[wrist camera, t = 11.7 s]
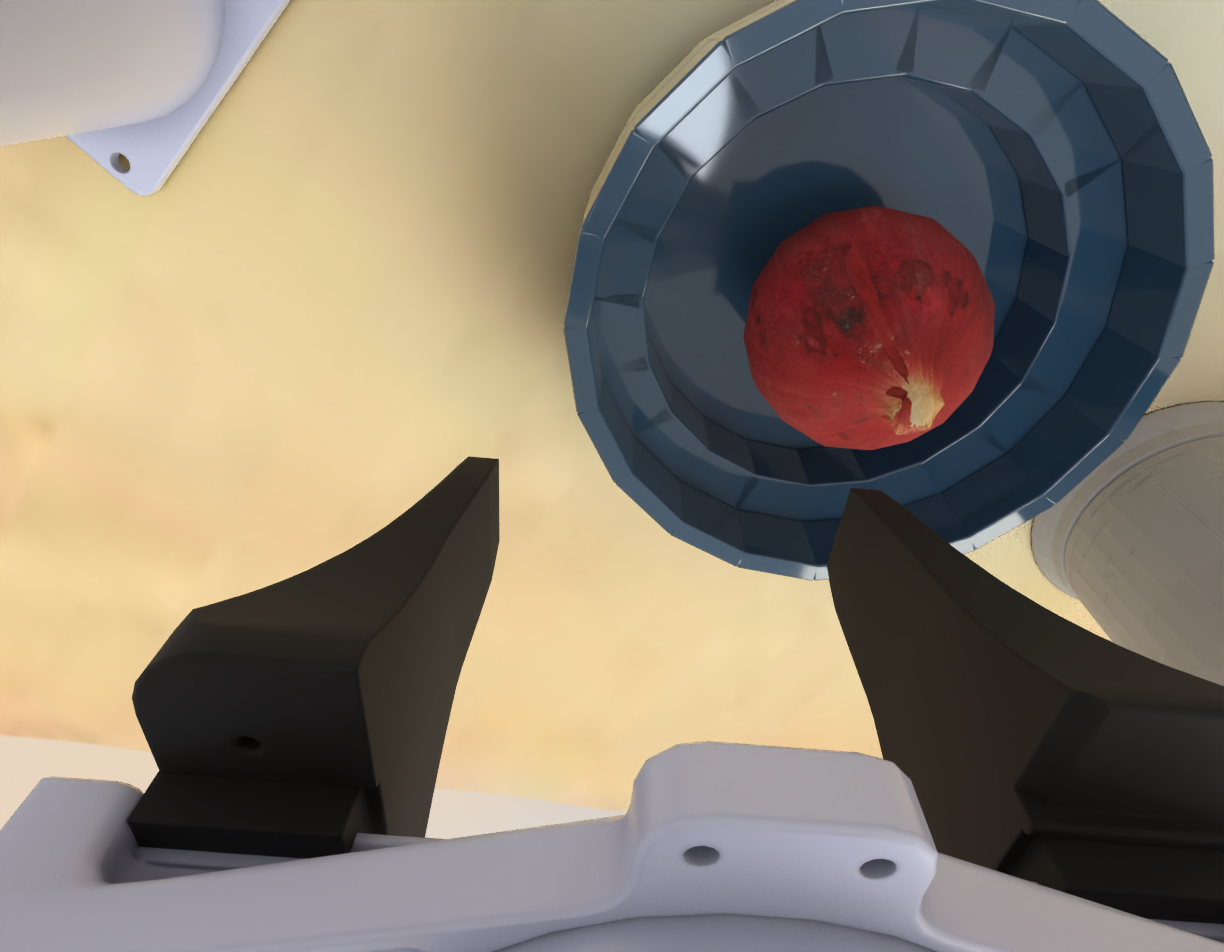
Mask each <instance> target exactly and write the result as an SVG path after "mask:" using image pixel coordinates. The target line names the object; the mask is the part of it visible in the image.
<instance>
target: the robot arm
mask: <svg viewBox="0 0 1224 952" xmlns="http://www.w3.org/2000/svg"><path fill="white" fill-rule="evenodd" d="M290 1H291V0H0V147H2V146H8V145H14V144H20V143H26V142H32V141H37V140H43V139H49V138H55V137H61V136H66V137H67V138H68V139H70V140H71V141H72V142H73V143H74V144H76V145H77V146H78V147H79V148H80V149H82V150H83V151H84V152H85V153H86V154H87V155H89V156H90V157H91V158H92V159H93V160H95V161H96V162H97V163H98V164H99V165H100V166H102V167H103V168H104V169H105V170H106V171H108V172H109V173H110V174H111V175H112V176H114V177H115V178H116V179H117V180H118V181H119V182H121V183H122V184H123V185H124V186H125V187H127V188H128V189H129V190H130V191H132V192H134V193H135V194H138V195H142V196H146V195H151V194H154V193H156V192H158V191H159V190H160V189H161V187H162V186H163V185H164V183H165V182H166V180H167V179H168V177H169V176H170V174H171V173H172V172H173V170H174V169H175V167H176V166H177V164H178V163H179V161H180V160H181V159H182V157H183V156H184V154H185V153H186V151H187V150H188V148H189V147H190V145H191V144H192V143H193V141H194V140H195V138H196V137H197V135H198V134H199V132H200V131H201V130H202V128H203V127H204V125H205V124H206V122H207V121H208V119H209V118H210V116H211V115H212V114H213V112H214V111H215V109H216V108H217V106H218V105H219V103H220V102H221V101H222V99H223V98H224V96H225V95H226V93H227V92H228V90H229V89H230V87H231V86H232V85H233V83H234V82H235V80H236V79H237V77H238V76H239V74H240V73H241V72H242V70H243V69H244V67H245V66H246V64H247V63H248V61H249V60H250V58H251V57H252V56H253V54H254V53H255V51H256V50H257V48H258V47H259V45H260V44H261V43H262V41H263V40H264V38H265V37H266V35H267V34H268V32H269V31H270V29H271V28H272V27H273V25H274V24H275V22H276V21H277V19H278V18H279V16H280V15H281V14H282V12H283V11H284V9H285V8H286V6H287V5H288V3H289V2H290ZM120 153H121V154H122V155H124V156H125V157H126V158H127V159H128V161H129V164H130V169H129V170H127V169H126V168H124V167H123V166H122V164H121V163H120V160H119V154H120ZM498 545H499V459H491V458H479V457H468V458H467V459H465V460H464V461H463V462H462V463H461V464H460V465H458V466H457V467H456V468H455V469H454V470H453V471H452V472H451V473H450V474H449V475H448V476H447V477H445V478H444V479H443V480H442V481H441V482H440V483H439V484H438V485H437V486H436V487H434V488H433V489H432V490H431V491H430V492H429V493H427V494H426V495H425V496H424V497H423V498H422V499H420V500H419V501H418V502H417V503H416V504H415V505H413V506H412V507H411V508H410V509H408V510H407V511H406V512H405V513H403V514H402V515H401V516H399V517H398V518H397V519H395V520H394V521H393V522H391V523H390V524H389V525H387V526H386V527H384V528H383V529H381V530H380V531H378V532H377V533H375V534H374V535H372V536H371V537H369V538H367V539H366V540H364V541H362V542H361V543H359V544H357V545H356V546H354V547H352V548H351V549H349V550H347V551H345V552H343V553H341V554H339V555H337V556H335V557H333V558H331V559H329V560H327V561H325V562H323V563H321V564H319V565H317V566H315V567H313V568H311V569H309V570H307V571H305V572H302V573H300V574H298V575H295V576H293V577H290V578H288V579H286V580H283V581H281V582H278V583H275V584H273V585H270V586H267V587H265V588H262V589H259V590H256V591H253V592H250V593H247V594H244V595H241V596H238V597H234V598H231V599H228V600H224V601H221V602H217V603H214V604H211V605H207V606H204V607H200V608H196V609H193V610H192V611H191V612H190V613H189V614H188V616H187V617H186V618H185V619H184V620H183V621H182V622H181V624H180V625H179V626H178V627H177V628H176V629H175V630H174V632H173V633H172V634H171V636H170V637H169V638H168V640H167V641H166V642H165V644H164V645H163V646H162V648H161V649H160V650H159V652H158V653H157V654H156V656H155V657H154V658H153V660H152V661H151V662H150V664H149V665H148V666H147V667H146V669H145V670H144V671H143V673H142V674H141V675H140V677H139V678H138V679H137V681H136V682H135V686H134V691H133V695H132V700H133V704H134V709H135V713H136V716H137V718H138V721H139V723H140V725H141V728H142V730H143V732H144V735H145V737H146V740H147V742H148V744H149V747H150V749H151V751H152V754H153V756H154V759H155V761H156V763H157V766H158V768H159V772H158V773H157V775H156V777H155V778H154V779H153V781H152V783H151V784H150V786H149V787H148V789H147V790H146V792H145V793H143V792H142V791H141V790H140V789H138V788H136V787H134V786H132V785H130V784H127V783H123V782H118V781H107V780H92V779H79V778H65V777H47V778H43V779H41V780H40V782H39V783H38V784H37V785H36V787H35V788H34V789H33V790H32V791H31V793H30V794H29V795H28V797H27V798H26V799H25V800H24V801H23V803H22V804H21V805H20V807H19V808H18V809H17V810H16V811H15V813H14V814H13V815H12V816H11V818H10V819H9V820H8V821H7V823H6V824H5V825H4V827H3V828H2V829H1V830H0V952H1224V686H1222V685H1219V684H1216V683H1214V682H1211V681H1208V680H1205V679H1203V678H1200V677H1197V676H1194V675H1192V674H1189V673H1186V672H1183V671H1180V670H1178V669H1175V668H1172V667H1169V666H1167V665H1164V664H1162V663H1159V662H1157V661H1154V660H1152V659H1150V658H1147V657H1145V656H1143V655H1140V654H1138V653H1136V652H1133V651H1131V650H1129V649H1126V648H1124V647H1121V646H1119V645H1117V644H1115V643H1113V642H1111V641H1108V640H1106V639H1104V638H1102V637H1100V636H1098V635H1096V634H1094V633H1092V632H1090V631H1088V630H1086V629H1084V628H1082V627H1080V626H1078V625H1076V624H1074V623H1072V622H1070V621H1068V620H1066V619H1064V618H1062V617H1060V616H1058V615H1057V614H1055V613H1053V612H1051V611H1049V610H1048V609H1046V608H1044V607H1042V606H1040V605H1039V604H1037V603H1036V602H1034V601H1032V600H1031V599H1029V598H1027V597H1026V596H1024V595H1022V594H1021V593H1019V592H1017V591H1016V590H1014V589H1012V588H1011V587H1009V586H1008V585H1006V584H1005V583H1003V582H1002V581H1000V580H999V579H997V578H996V577H994V576H993V575H991V574H990V573H988V572H987V571H986V570H984V569H983V568H981V567H980V566H979V565H977V564H976V563H974V562H973V561H971V560H970V559H969V558H967V557H966V556H965V555H963V554H962V553H961V552H959V551H958V550H957V549H955V548H954V547H953V546H952V545H950V544H949V543H948V542H946V541H945V540H944V539H943V538H941V537H940V536H939V535H938V534H936V533H935V532H934V531H933V530H931V529H930V528H929V527H928V526H926V525H925V524H924V523H923V522H921V521H920V520H919V519H918V518H916V517H915V516H914V515H913V514H912V513H910V512H909V511H908V510H907V509H905V508H904V507H903V506H901V505H900V504H899V503H898V502H896V501H895V500H894V499H892V498H891V497H890V496H888V495H887V494H885V493H884V492H882V491H881V490H871V489H858V488H851V489H850V492H849V496H848V499H847V502H846V505H845V509H844V512H843V515H842V518H841V522H840V525H839V528H838V531H837V534H836V538H835V541H834V544H833V547H832V551H831V554H830V557H829V560H828V564H827V570H828V576H829V582H830V587H831V592H832V597H833V601H834V606H835V610H836V613H837V616H838V619H839V621H840V624H841V627H842V630H843V633H844V635H845V638H846V641H847V644H848V647H849V649H850V652H851V655H852V657H853V660H854V663H855V666H856V668H857V671H858V674H859V677H860V679H861V682H862V685H863V688H864V690H865V693H866V696H867V699H868V702H869V705H870V708H871V711H872V715H873V718H874V722H875V726H876V730H877V734H878V738H879V743H880V747H881V751H882V755H883V759H880V758H877V757H873V756H869V755H865V754H862V753H858V752H844V751H831V750H818V749H804V748H791V747H778V746H765V745H751V744H738V743H725V742H711V741H707V742H696V743H685V744H676V745H674V746H672V747H670V748H668V749H667V750H665V751H663V752H661V753H659V754H657V755H655V756H653V757H651V758H649V759H648V760H646V762H645V763H644V765H643V767H642V768H641V770H640V772H639V773H638V775H637V777H636V778H635V780H634V784H633V791H632V797H631V804H630V806H629V809H628V811H627V813H626V814H625V815H619V816H612V817H605V818H597V819H591V820H583V821H577V822H569V823H562V824H554V825H547V826H540V827H533V828H525V829H518V830H511V831H504V832H496V833H490V834H482V835H475V836H467V837H461V838H453V839H434V838H425V834H426V828H427V823H428V818H429V813H430V808H431V803H432V797H433V793H434V788H435V783H436V778H437V773H438V768H439V763H440V758H441V754H442V749H443V744H444V739H445V735H446V730H447V725H448V721H449V716H450V712H451V708H452V703H453V699H454V694H455V690H456V686H457V682H458V679H459V675H460V672H461V668H462V665H463V662H464V660H465V657H466V654H467V651H468V648H469V645H470V642H471V639H472V636H473V633H474V631H475V628H476V625H477V622H478V619H479V616H480V613H481V610H482V607H483V604H484V601H485V598H486V595H487V592H488V589H489V586H490V583H491V580H492V575H493V570H494V565H495V560H496V555H497V550H498Z"/></svg>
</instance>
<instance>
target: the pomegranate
mask: <svg viewBox="0 0 1224 952" xmlns="http://www.w3.org/2000/svg"><path fill="white" fill-rule="evenodd" d="M994 315H995V304H994V301H993V297H992V294H991V291H990V289H989V287H988V285H987V283H986V280H985V278H984V276H983V274H982V272H981V269H980V267H979V265H978V263H977V261H976V259H975V257H974V256H973V254H972V253H971V252H970V251H969V250H968V249H967V248H966V247H965V246H964V245H963V244H962V243H961V242H960V241H959V240H957V239H956V238H955V237H954V236H953V235H952V234H951V233H949V232H948V231H947V230H946V229H945V228H944V227H943V226H941V225H940V224H939V223H938V222H937V221H936V220H935V219H933V218H929V217H925V216H920V215H916V214H912V213H907V212H903V211H899V210H895V209H890V208H886V207H881V206H875V205H873V206H867V207H861V208H855V209H849V210H842V211H836V212H830V213H824V214H823V215H821V216H820V217H818V218H817V219H815V220H814V221H812V222H811V223H809V224H808V225H806V226H805V227H803V228H802V229H800V230H799V231H797V232H796V233H794V234H793V235H791V236H790V237H788V238H787V239H785V240H784V241H782V242H781V243H780V244H779V245H778V247H777V248H776V250H775V251H774V253H773V254H772V256H771V257H770V259H769V260H768V262H767V263H766V265H765V266H764V268H763V269H762V271H761V272H760V274H759V275H758V277H757V278H756V280H755V281H754V283H753V287H752V293H751V298H750V303H749V309H748V314H747V320H746V325H745V331H744V336H743V338H744V343H745V348H746V352H747V357H748V361H749V366H750V370H751V375H752V378H753V380H754V383H755V385H756V387H757V389H758V390H759V392H760V393H761V394H762V395H763V397H764V398H765V399H766V400H767V402H768V403H769V404H770V406H771V407H772V408H773V409H774V411H775V412H776V413H777V414H778V416H779V417H780V418H781V419H782V420H783V421H784V422H786V423H787V424H789V425H790V426H792V427H793V428H795V429H797V430H798V431H800V432H802V433H803V434H805V435H806V436H808V437H810V438H811V439H813V440H814V441H816V442H818V443H820V444H821V445H823V446H827V447H838V448H849V449H860V450H875V449H879V448H883V447H888V446H892V445H896V444H901V443H905V442H909V441H911V440H913V439H915V438H917V437H918V436H920V435H922V434H924V433H926V432H928V431H930V430H931V429H933V428H935V427H937V426H939V425H941V424H943V423H944V422H945V421H946V420H947V419H948V417H949V416H950V415H951V414H952V413H953V412H954V411H955V410H956V409H957V408H958V407H959V406H960V405H961V403H962V402H963V401H964V400H965V399H966V398H967V397H968V396H969V395H970V394H971V393H972V391H973V389H974V387H975V385H976V383H977V381H978V379H979V377H980V375H981V373H982V371H983V369H984V367H985V365H986V364H987V362H988V360H989V358H990V356H991V352H992V348H993V338H994Z"/></svg>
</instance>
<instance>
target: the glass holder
mask: <svg viewBox="0 0 1224 952" xmlns="http://www.w3.org/2000/svg"><path fill="white" fill-rule="evenodd" d="M1124 441H1125V442H1124V443H1123V444H1122V445H1121V446H1120V447H1119V448H1118V449H1117V450H1116V451H1115V452H1114V453H1112V454H1111V455H1110V456H1109V457H1108V458H1107V459H1106V460H1105V461H1104V462H1102V463H1101V464H1100V465H1099V466H1098V467H1097V468H1096V469H1095V470H1094V471H1093V472H1091V473H1090V474H1089V475H1088V476H1087V477H1086V478H1085V479H1084V480H1083V481H1081V482H1080V483H1079V484H1078V485H1077V486H1076V487H1075V488H1074V489H1073V490H1071V491H1070V492H1069V493H1068V494H1067V495H1066V496H1065V497H1064V498H1063V499H1062V500H1060V501H1059V502H1058V503H1057V504H1053V505H1054V506H1053V507H1051V508H1050V509H1048V510H1046V511H1044V512H1042V513H1041V514H1039V515H1037V516H1035V517H1034V522H1033V527H1032V532H1031V540H1032V551H1033V555H1034V558H1035V561H1036V564H1037V566H1038V567H1039V569H1040V570H1041V572H1042V574H1043V575H1044V576H1045V577H1046V578H1047V579H1048V580H1049V581H1050V582H1051V583H1052V584H1053V585H1054V586H1055V587H1056V588H1057V589H1059V590H1061V591H1062V592H1064V593H1066V594H1067V595H1069V596H1071V597H1073V598H1075V599H1077V600H1080V601H1081V602H1082V604H1083V605H1084V606H1085V607H1086V609H1087V610H1088V611H1089V613H1090V614H1091V615H1092V616H1093V618H1094V619H1095V620H1096V621H1097V623H1098V624H1099V625H1100V626H1101V628H1102V629H1103V630H1104V631H1105V633H1106V634H1107V635H1108V637H1109V638H1110V639H1111V640H1112V642H1113V643H1115V644H1117V645H1119V646H1121V647H1124V648H1126V649H1129V650H1131V651H1133V652H1136V653H1138V654H1140V655H1143V656H1145V657H1147V658H1150V659H1152V660H1154V661H1157V662H1159V663H1162V664H1164V665H1167V666H1169V667H1172V668H1175V669H1178V670H1180V671H1183V672H1186V673H1189V674H1192V675H1194V676H1197V677H1200V678H1203V679H1205V680H1208V681H1211V682H1214V683H1216V684H1219V685H1222V686H1224V402H1199V403H1190V404H1182V405H1178V406H1174V407H1170V408H1166V409H1162V410H1158V411H1155V412H1152V413H1150V414H1147V415H1145V416H1143V417H1142V418H1141V420H1140V421H1139V423H1138V424H1137V426H1136V427H1135V429H1134V430H1133V432H1132V433H1131V435H1130V436H1129V438H1128V439H1127V440H1124Z"/></svg>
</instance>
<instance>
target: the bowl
mask: <svg viewBox="0 0 1224 952" xmlns="http://www.w3.org/2000/svg"><path fill="white" fill-rule="evenodd" d="M1211 157H1212V154H1211V152H1210V150H1209V147H1208V145H1207V143H1206V141H1205V138H1204V136H1203V134H1202V132H1201V130H1200V127H1199V125H1198V123H1197V121H1196V118H1195V116H1194V114H1193V112H1192V109H1191V107H1190V105H1189V103H1188V100H1187V98H1186V96H1185V94H1184V91H1183V89H1182V87H1181V85H1180V82H1179V80H1178V78H1177V76H1176V73H1175V71H1174V69H1173V67H1172V65H1171V63H1169V62H1168V59H1167V58H1166V57H1165V56H1164V55H1162V54H1161V53H1160V52H1159V51H1158V50H1156V49H1155V48H1154V47H1153V46H1152V45H1150V44H1149V43H1148V42H1147V41H1146V40H1145V39H1143V38H1142V37H1141V36H1140V35H1139V34H1137V33H1136V32H1135V31H1134V30H1133V29H1131V28H1130V27H1129V26H1128V25H1127V24H1125V23H1124V22H1123V21H1122V20H1121V19H1119V18H1118V17H1117V16H1116V15H1115V14H1113V13H1112V12H1111V11H1110V10H1109V9H1107V8H1106V7H1105V6H1104V5H1103V4H1101V3H1100V2H1099V1H1098V0H776V1H774V2H772V3H770V4H768V5H767V6H765V7H763V8H761V9H759V10H757V11H755V12H753V13H751V14H749V15H747V16H745V17H744V18H742V19H740V20H738V21H736V22H734V23H732V24H730V25H728V26H726V27H724V28H722V29H720V30H719V31H717V32H715V33H713V34H711V35H709V36H707V37H706V38H705V39H703V40H701V41H700V42H699V43H698V44H697V45H696V46H695V47H694V48H693V49H692V50H691V51H690V53H689V54H688V55H687V56H686V57H685V58H684V59H683V60H682V61H681V62H680V63H679V64H678V65H677V66H676V67H675V68H674V69H673V70H672V71H671V72H670V73H669V74H668V75H667V76H666V77H665V78H664V79H663V80H662V81H661V82H660V83H659V84H658V85H657V86H656V87H655V88H654V89H653V90H652V91H651V92H650V93H649V94H648V95H647V96H646V97H645V98H644V99H643V100H642V101H641V102H640V103H639V104H638V105H637V106H636V107H635V109H634V111H633V112H632V113H631V115H630V117H629V119H628V121H627V123H626V125H625V127H624V129H623V131H622V132H621V134H620V136H619V138H618V140H617V142H616V144H615V146H614V148H613V150H612V152H611V154H610V156H609V158H608V160H607V162H606V163H605V165H604V167H603V169H602V171H601V173H600V175H599V177H598V179H597V181H596V183H595V185H594V187H593V189H592V191H591V195H590V198H589V201H588V204H587V208H586V211H585V214H584V218H583V221H582V225H581V228H580V231H579V237H578V243H577V249H576V255H575V260H574V266H573V272H572V278H571V284H570V290H569V295H568V301H567V307H566V313H565V319H564V335H565V342H566V348H567V354H568V361H569V367H570V373H571V380H572V386H573V392H574V399H575V405H576V411H577V413H578V416H579V418H580V420H581V422H582V424H583V426H584V428H585V429H586V431H587V433H588V435H589V437H590V439H591V441H592V442H593V444H594V446H595V448H596V450H597V452H598V454H599V456H600V457H601V459H602V461H603V463H604V465H605V467H606V469H607V470H608V472H609V474H610V476H611V478H612V480H613V482H614V483H616V485H617V486H618V487H620V488H621V489H622V490H623V491H624V492H625V493H626V494H627V495H628V496H629V497H630V498H631V499H632V500H633V501H635V502H636V503H637V504H638V505H639V506H640V507H641V508H642V509H643V510H644V511H645V512H646V513H647V514H648V515H649V516H651V517H652V518H653V519H654V520H655V521H656V522H657V523H658V524H659V525H660V526H661V527H662V528H663V529H664V530H666V531H667V532H668V533H669V534H671V535H672V536H674V537H676V538H678V539H680V540H682V541H684V542H686V543H688V544H690V545H692V546H694V547H696V548H698V549H701V550H703V551H705V552H707V553H709V554H711V555H713V556H715V557H717V558H719V559H721V560H723V561H725V562H728V563H730V564H732V565H734V566H737V567H739V568H744V569H750V570H755V571H761V572H766V573H772V574H778V575H783V576H789V577H794V578H800V579H806V580H828V579H829V576H828V570H827V564H828V560H829V557H830V554H831V551H832V547H833V544H834V541H835V538H836V534H837V531H838V528H839V525H840V522H841V518H842V515H843V512H844V509H845V505H846V502H847V499H848V496H849V492H850V489H851V488H858V489H871V490H881V491H882V492H884V493H885V494H887V495H888V496H890V497H891V498H892V499H894V500H895V501H896V502H898V503H899V504H900V505H901V506H903V507H904V508H905V509H907V510H908V511H909V512H910V513H912V514H913V515H914V516H915V517H916V518H918V519H919V520H920V521H921V522H923V523H924V524H925V525H926V526H928V527H929V528H930V529H931V530H933V531H934V532H935V533H936V534H938V535H939V536H940V537H941V538H943V539H944V540H945V541H946V542H948V543H949V544H950V545H952V546H953V547H954V548H955V549H957V550H958V551H959V552H961V553H962V554H965V553H969V552H972V551H974V550H975V549H979V548H980V547H982V546H984V545H986V544H987V543H989V542H991V541H993V540H994V539H996V538H998V537H1000V536H1002V535H1003V534H1005V533H1007V532H1009V531H1010V530H1012V529H1014V528H1016V527H1018V526H1019V525H1021V524H1023V523H1025V522H1026V521H1028V520H1030V519H1032V518H1034V517H1035V516H1037V515H1039V514H1041V513H1042V512H1044V511H1046V510H1048V509H1050V508H1051V507H1053V506H1054V505H1053V504H1057V503H1058V502H1059V501H1060V500H1062V499H1063V498H1064V497H1065V496H1066V495H1067V494H1068V493H1069V492H1070V491H1071V490H1073V489H1074V488H1075V487H1076V486H1077V485H1078V484H1079V483H1080V482H1081V481H1083V480H1084V479H1085V478H1086V477H1087V476H1088V475H1089V474H1090V473H1091V472H1093V471H1094V470H1095V469H1096V468H1097V467H1098V466H1099V465H1100V464H1101V463H1102V462H1104V461H1105V460H1106V459H1107V458H1108V457H1109V456H1110V455H1111V454H1112V453H1114V452H1115V451H1116V450H1117V449H1118V448H1119V447H1120V446H1121V445H1122V444H1123V443H1124V442H1125V441H1124V440H1127V439H1128V438H1129V436H1130V435H1131V433H1132V432H1133V430H1134V429H1135V427H1136V426H1137V424H1138V423H1139V421H1140V420H1141V418H1142V417H1143V415H1144V414H1145V412H1146V411H1147V410H1148V408H1149V407H1150V405H1151V404H1152V402H1153V401H1154V399H1155V398H1156V396H1157V395H1158V393H1159V392H1160V390H1161V389H1162V387H1163V386H1164V384H1165V383H1166V382H1167V380H1168V379H1169V377H1170V376H1171V374H1172V373H1173V371H1174V370H1175V368H1176V367H1177V365H1178V364H1179V362H1180V361H1181V357H1183V355H1184V352H1185V349H1186V346H1187V343H1188V340H1189V337H1190V334H1191V331H1192V328H1193V325H1194V322H1195V319H1196V316H1197V313H1198V310H1199V306H1200V303H1201V300H1202V297H1203V294H1204V291H1205V288H1206V285H1207V282H1208V279H1209V276H1210V273H1211V270H1212V267H1213V264H1214V263H1213V260H1214V192H1213V160H1212V158H1211ZM873 205H875V206H881V207H886V208H890V209H895V210H899V211H903V212H907V213H912V214H916V215H920V216H925V217H929V218H933V219H935V220H936V221H937V222H938V223H939V224H940V225H941V226H943V227H944V228H945V229H946V230H947V231H948V232H949V233H951V234H952V235H953V236H954V237H955V238H956V239H957V240H959V241H960V242H961V243H962V244H963V245H964V246H965V247H966V248H967V249H968V250H969V251H970V252H971V253H972V254H973V256H974V257H975V259H976V261H977V263H978V265H979V267H980V269H981V272H982V274H983V276H984V278H985V280H986V283H987V285H988V287H989V289H990V291H991V294H992V297H993V301H994V304H995V315H994V338H993V348H992V352H991V356H990V358H989V360H988V362H987V364H986V365H985V367H984V369H983V371H982V373H981V375H980V377H979V379H978V381H977V383H976V385H975V387H974V389H973V391H972V393H971V394H970V395H969V396H968V397H967V398H966V399H965V400H964V401H963V402H962V403H961V405H960V406H959V407H958V408H957V409H956V410H955V411H954V412H953V413H952V414H951V415H950V416H949V417H948V419H947V420H946V421H945V422H944V423H943V424H941V425H939V426H937V427H935V428H933V429H931V430H930V431H928V432H926V433H924V434H922V435H920V436H918V437H917V438H915V439H913V440H911V441H909V442H905V443H901V444H896V445H892V446H888V447H883V448H879V449H875V450H860V449H849V448H838V447H827V446H823V445H821V444H820V443H818V442H816V441H814V440H813V439H811V438H810V437H808V436H806V435H805V434H803V433H802V432H800V431H798V430H797V429H795V428H793V427H792V426H790V425H789V424H787V423H786V422H784V421H783V420H782V419H781V418H780V417H779V416H778V414H777V413H776V412H775V411H774V409H773V408H772V407H771V406H770V404H769V403H768V402H767V400H766V399H765V398H764V397H763V395H762V394H761V393H760V392H759V390H758V389H757V387H756V385H755V383H754V380H753V378H752V375H751V370H750V366H749V361H748V357H747V352H746V348H745V343H744V338H743V336H744V331H745V325H746V320H747V314H748V309H749V303H750V298H751V293H752V287H753V283H754V281H755V280H756V278H757V277H758V275H759V274H760V272H761V271H762V269H763V268H764V266H765V265H766V263H767V262H768V260H769V259H770V257H771V256H772V254H773V253H774V251H775V250H776V248H777V247H778V245H779V244H780V243H781V242H782V241H784V240H785V239H787V238H788V237H790V236H791V235H793V234H794V233H796V232H797V231H799V230H800V229H802V228H803V227H805V226H806V225H808V224H809V223H811V222H812V221H814V220H815V219H817V218H818V217H820V216H821V215H823V214H824V213H830V212H836V211H842V210H849V209H855V208H861V207H867V206H873Z"/></svg>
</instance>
